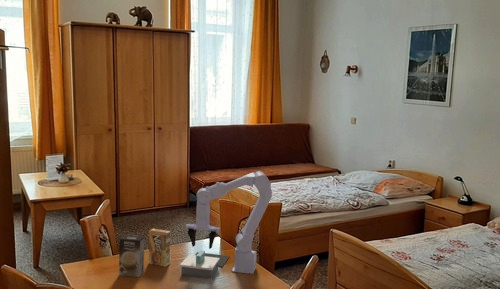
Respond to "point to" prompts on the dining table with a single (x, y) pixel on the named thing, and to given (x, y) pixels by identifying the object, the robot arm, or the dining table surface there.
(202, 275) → the tub
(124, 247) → the coffee box
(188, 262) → the lid
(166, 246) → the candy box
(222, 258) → the mat
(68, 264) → the dining table surface
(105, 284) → the dining table surface
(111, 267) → the dining table surface
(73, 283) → the dining table surface
